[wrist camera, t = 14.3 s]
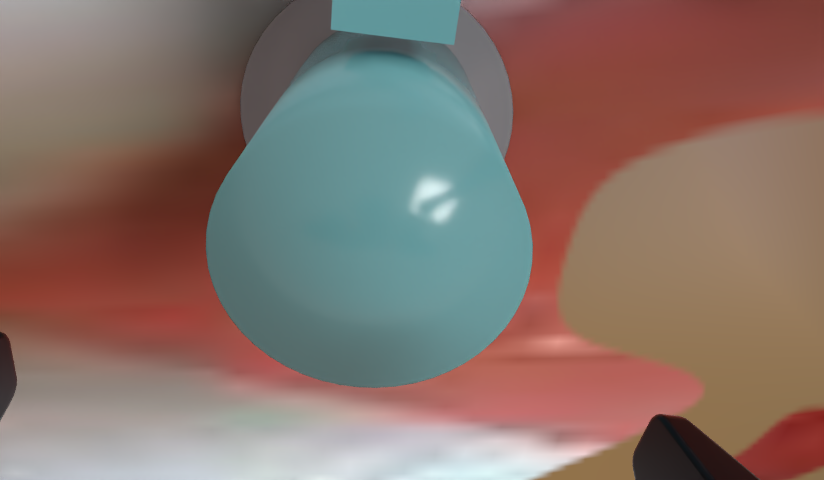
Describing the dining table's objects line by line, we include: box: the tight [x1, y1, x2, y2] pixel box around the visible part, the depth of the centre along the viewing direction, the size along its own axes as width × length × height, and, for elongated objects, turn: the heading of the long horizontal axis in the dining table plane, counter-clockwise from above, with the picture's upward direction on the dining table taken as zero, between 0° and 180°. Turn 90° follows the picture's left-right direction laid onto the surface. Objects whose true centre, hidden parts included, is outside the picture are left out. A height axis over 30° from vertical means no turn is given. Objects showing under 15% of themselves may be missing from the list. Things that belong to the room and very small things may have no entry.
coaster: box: [240, 0, 513, 159], centre depth 19 cm, size 9×9×1 cm
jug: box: [206, 0, 533, 388], centre depth 13 cm, size 12×6×10 cm, turn 173°
